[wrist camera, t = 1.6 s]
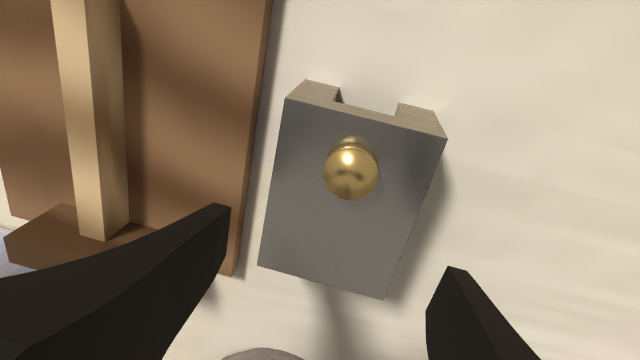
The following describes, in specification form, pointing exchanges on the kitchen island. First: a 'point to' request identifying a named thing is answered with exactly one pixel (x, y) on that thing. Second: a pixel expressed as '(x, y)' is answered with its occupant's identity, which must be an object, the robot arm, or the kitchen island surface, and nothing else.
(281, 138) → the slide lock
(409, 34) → the kitchen island surface
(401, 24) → the kitchen island surface
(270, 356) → the pillar candle
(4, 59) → the board
